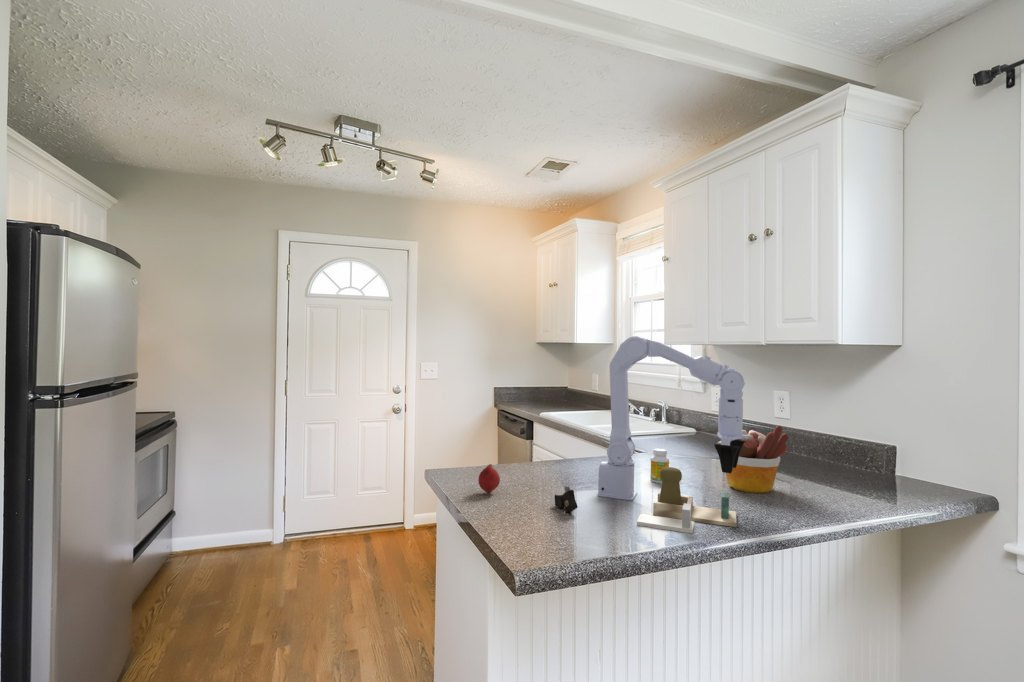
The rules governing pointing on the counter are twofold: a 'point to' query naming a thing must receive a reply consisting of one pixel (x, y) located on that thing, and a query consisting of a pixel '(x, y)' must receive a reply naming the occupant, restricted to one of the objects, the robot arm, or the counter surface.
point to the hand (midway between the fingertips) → (729, 469)
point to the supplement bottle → (658, 464)
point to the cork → (670, 486)
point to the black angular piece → (566, 500)
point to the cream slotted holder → (698, 511)
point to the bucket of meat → (758, 461)
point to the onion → (489, 479)
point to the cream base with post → (669, 521)
